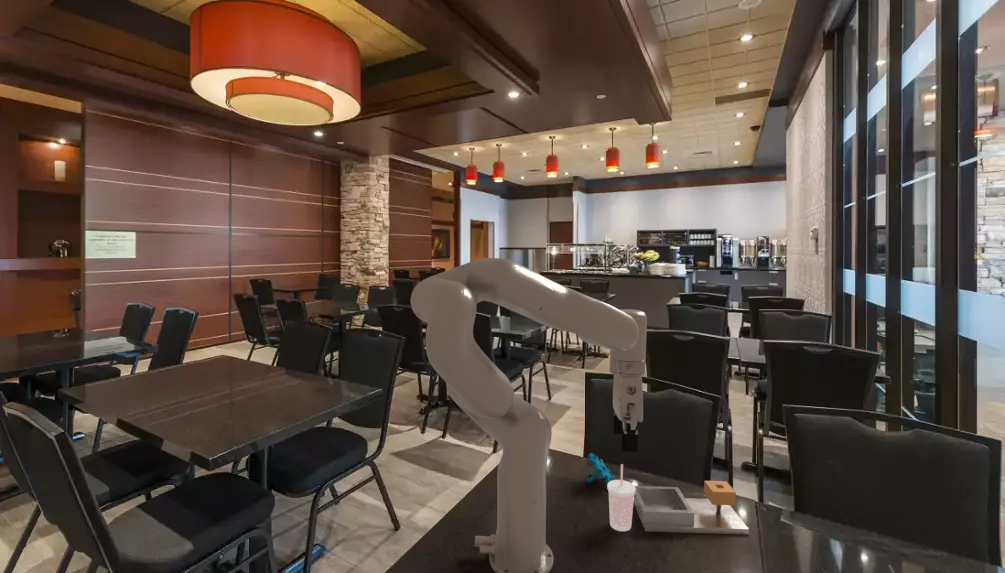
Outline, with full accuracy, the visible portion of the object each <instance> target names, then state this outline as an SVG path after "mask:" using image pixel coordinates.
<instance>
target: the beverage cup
mask: <svg viewBox="0 0 1005 573" xmlns="http://www.w3.org/2000/svg"><path fill="white" fill-rule="evenodd" d="M623 475H624V464H623V463H621V464H620V479H615V480H612V481H610V482H608V484H607V483H606V484H607V485H606V486H607V491H608V507H609V511H608V512H609V524H610V526H609V527H611V528H612V530H613V529H614V530H615V531H618V532H627V531H630V530H631V529H632V522H633V513H634V512H633V511H634V510H633V509H634V503H633V502H634V494H635V490H636V488H635V486H636V485H634V484H633V482H630V481H627V480H624V476H623Z"/></svg>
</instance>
